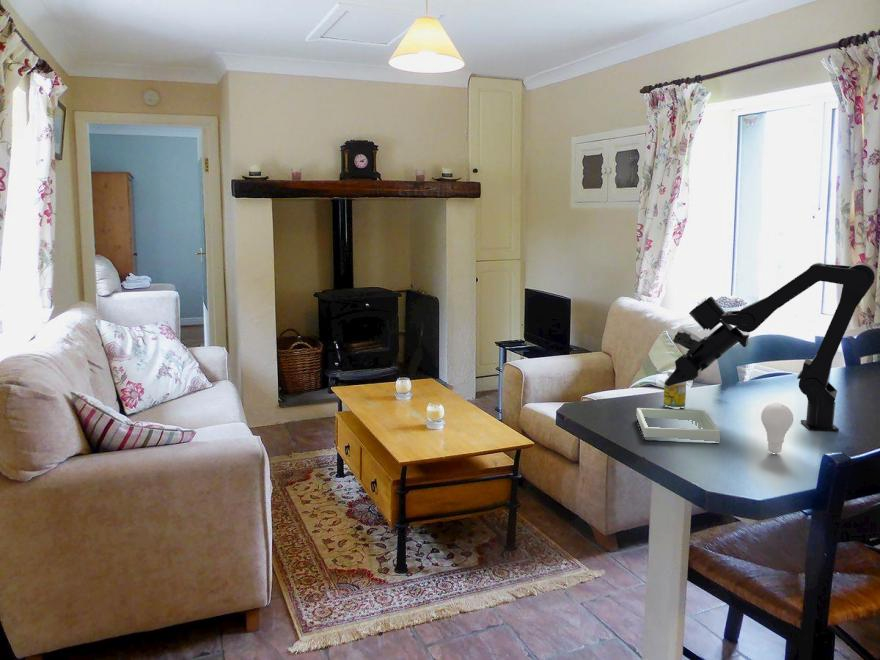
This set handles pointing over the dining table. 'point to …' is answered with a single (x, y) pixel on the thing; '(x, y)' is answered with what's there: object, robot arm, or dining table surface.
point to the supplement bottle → (674, 393)
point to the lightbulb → (776, 425)
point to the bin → (699, 416)
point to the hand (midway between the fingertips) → (670, 381)
